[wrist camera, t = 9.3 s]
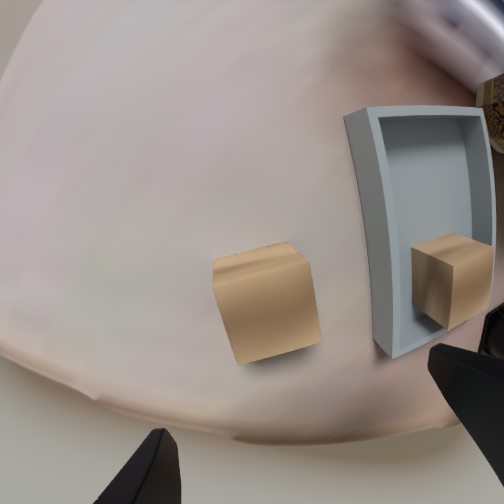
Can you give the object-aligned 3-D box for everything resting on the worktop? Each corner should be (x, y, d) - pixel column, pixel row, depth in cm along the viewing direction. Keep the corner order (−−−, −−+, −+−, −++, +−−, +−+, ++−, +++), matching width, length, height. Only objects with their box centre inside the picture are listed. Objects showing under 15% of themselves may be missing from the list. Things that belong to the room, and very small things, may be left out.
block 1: (299, 306, 18) (321, 341, 14) (232, 323, 18) (237, 365, 14) (286, 241, 17) (309, 262, 13) (213, 259, 17) (212, 287, 13)
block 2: (451, 285, 19) (488, 306, 15) (411, 303, 19) (447, 330, 15) (452, 232, 18) (494, 247, 13) (410, 246, 18) (453, 266, 13)
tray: (468, 293, 20) (489, 306, 18) (373, 338, 20) (391, 359, 17) (456, 112, 16) (482, 108, 13) (343, 116, 15) (366, 107, 13)
